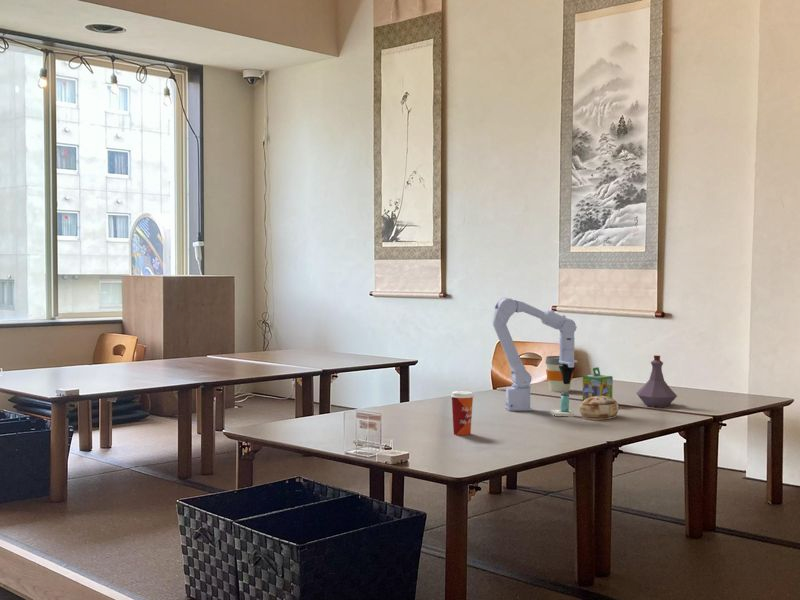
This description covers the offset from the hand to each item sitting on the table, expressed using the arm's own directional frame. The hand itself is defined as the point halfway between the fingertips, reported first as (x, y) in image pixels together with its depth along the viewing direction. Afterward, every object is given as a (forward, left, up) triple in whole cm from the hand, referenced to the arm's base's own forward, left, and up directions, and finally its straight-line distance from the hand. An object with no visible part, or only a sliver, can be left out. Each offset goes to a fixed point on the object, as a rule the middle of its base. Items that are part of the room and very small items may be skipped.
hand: (566, 383), depth 358 cm
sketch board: (-5, -13, -10) cm, 17 cm away
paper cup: (-48, -49, -10) cm, 69 cm away
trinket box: (+8, -19, -10) cm, 23 cm away
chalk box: (+16, +12, -10) cm, 22 cm away
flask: (+39, +8, -10) cm, 41 cm away
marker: (-4, -13, -9) cm, 16 cm away
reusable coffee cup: (+10, +51, -10) cm, 53 cm away
